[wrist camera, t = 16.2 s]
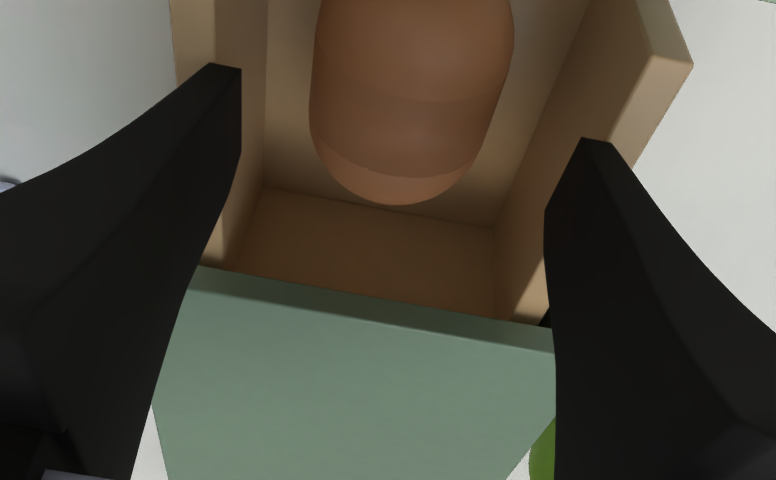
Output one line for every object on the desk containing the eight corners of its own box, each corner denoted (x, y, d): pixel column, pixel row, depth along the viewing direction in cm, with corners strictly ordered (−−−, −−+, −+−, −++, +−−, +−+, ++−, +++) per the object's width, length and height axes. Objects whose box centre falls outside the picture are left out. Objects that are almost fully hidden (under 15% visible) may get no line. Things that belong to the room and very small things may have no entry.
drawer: (198, -754, 9) (-26, -985, 5) (911, -560, 9) (1218, -629, 6) (225, 171, 21) (168, 312, 18) (528, 228, 22) (538, 377, 18)
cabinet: (212, 89, 20) (121, 277, 15) (570, 160, 21) (599, 362, 16) (222, 330, 30) (170, 491, 25) (464, 372, 31) (460, 538, 26)
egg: (467, 147, 18) (456, 258, 15) (322, 114, 18) (283, 219, 15) (542, -75, 14) (545, 23, 11) (348, -122, 14) (300, -34, 11)
